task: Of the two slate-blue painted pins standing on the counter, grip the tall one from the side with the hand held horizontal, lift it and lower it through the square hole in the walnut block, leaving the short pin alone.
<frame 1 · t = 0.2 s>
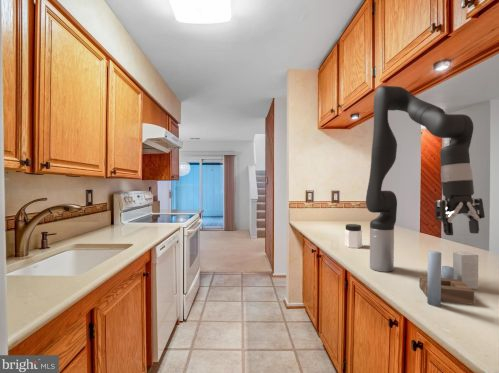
hand: (461, 234, 81), 22 cm above the countertop, tool pointing down, fingers open, 8 cm apart
jar: (353, 246, 154), on the countertop
long pin: (433, 303, 84), on the countertop
short pin: (447, 287, 97), on the countertop
skincare box: (464, 287, 97), on the countertop
socket block: (444, 295, 90), on the countertop
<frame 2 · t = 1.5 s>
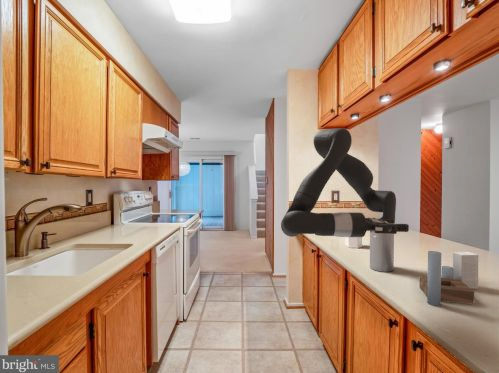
hand: (400, 225, 83), 24 cm above the countertop, tool horizontal, fingers open, 8 cm apart
nothing on the countertop moved.
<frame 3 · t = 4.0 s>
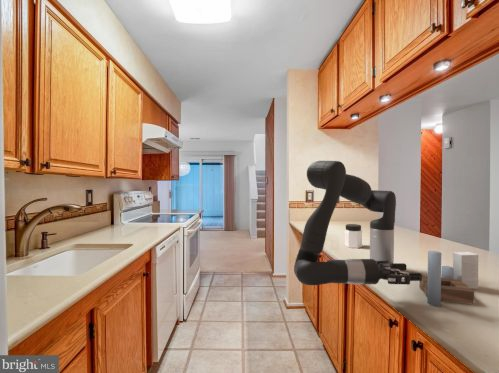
hand: (413, 271, 84), 10 cm above the countertop, tool horizontal, fingers open, 8 cm apart
nothing on the countertop moved.
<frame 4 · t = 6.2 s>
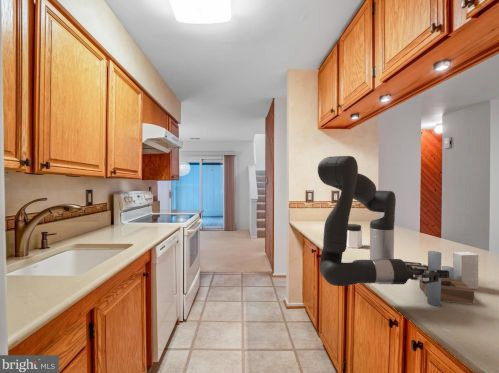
hand: (443, 271, 84), 10 cm above the countertop, tool horizontal, fingers closed on long pin, 3 cm apart
long pin: (433, 303, 84), on the countertop, touching gripper
everything else where it was.
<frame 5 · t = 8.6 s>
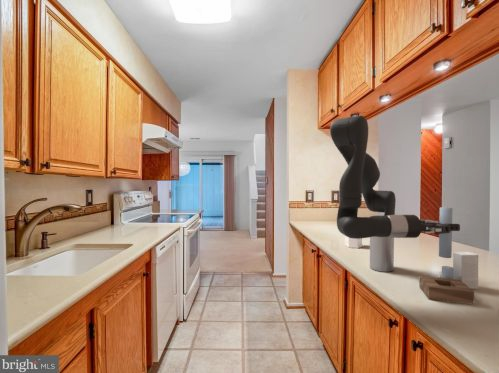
hand: (454, 226, 89), 23 cm above the countertop, tool horizontal, fingers closed on long pin, 3 cm apart
long pin: (445, 256, 89), point 13 cm above the countertop, touching gripper
everything else where it was.
when the fingers open (12 cm above the countertop, at t = 10.8 s): long pin drops 2 cm, resting in socket block.
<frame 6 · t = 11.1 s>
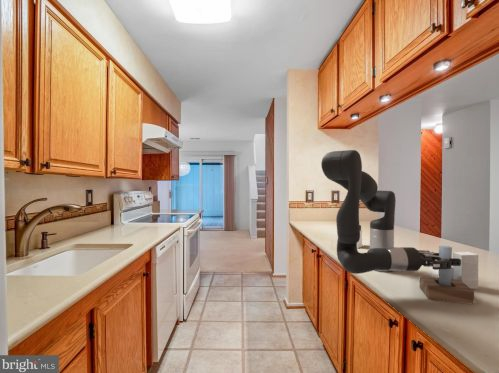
hand: (453, 259, 89), 12 cm above the countertop, tool horizontal, fingers open, 5 cm apart
long pin: (444, 295, 90), resting in socket block
everything else where it was.
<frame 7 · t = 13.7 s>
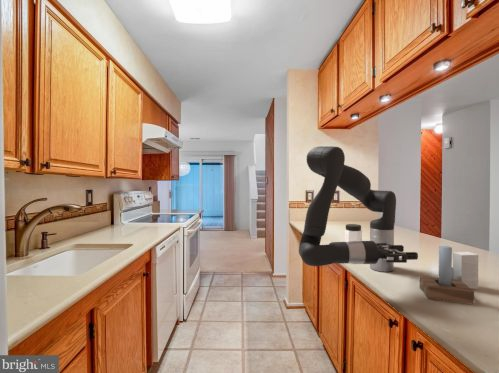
hand: (409, 251, 90), 14 cm above the countertop, tool horizontal, fingers open, 8 cm apart
nothing on the countertop moved.
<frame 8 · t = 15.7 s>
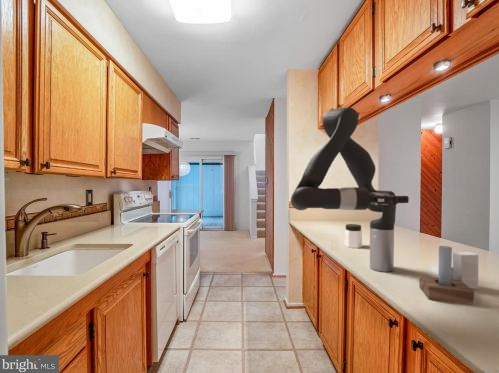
hand: (401, 198, 90), 32 cm above the countertop, tool horizontal, fingers open, 8 cm apart
nothing on the countertop moved.
at the end: long pin 0.1 cm off-centre on the socket block, point 0.0 cm above the socket block's base; long pin tilted 0°; the gripper is holding nothing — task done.
